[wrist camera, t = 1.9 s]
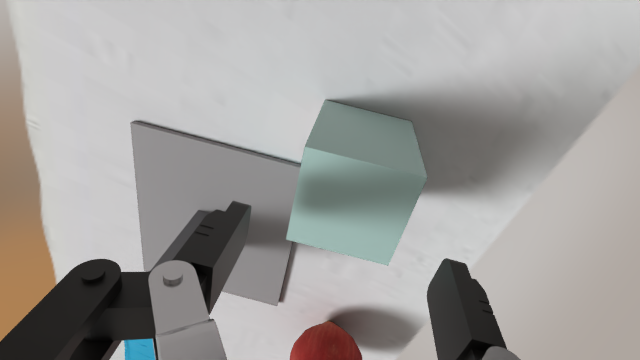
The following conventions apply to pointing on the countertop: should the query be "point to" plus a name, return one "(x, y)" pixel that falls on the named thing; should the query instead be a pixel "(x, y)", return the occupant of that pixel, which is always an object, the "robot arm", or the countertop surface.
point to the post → (182, 238)
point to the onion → (325, 344)
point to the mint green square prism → (357, 183)
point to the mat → (215, 201)
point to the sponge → (139, 349)
